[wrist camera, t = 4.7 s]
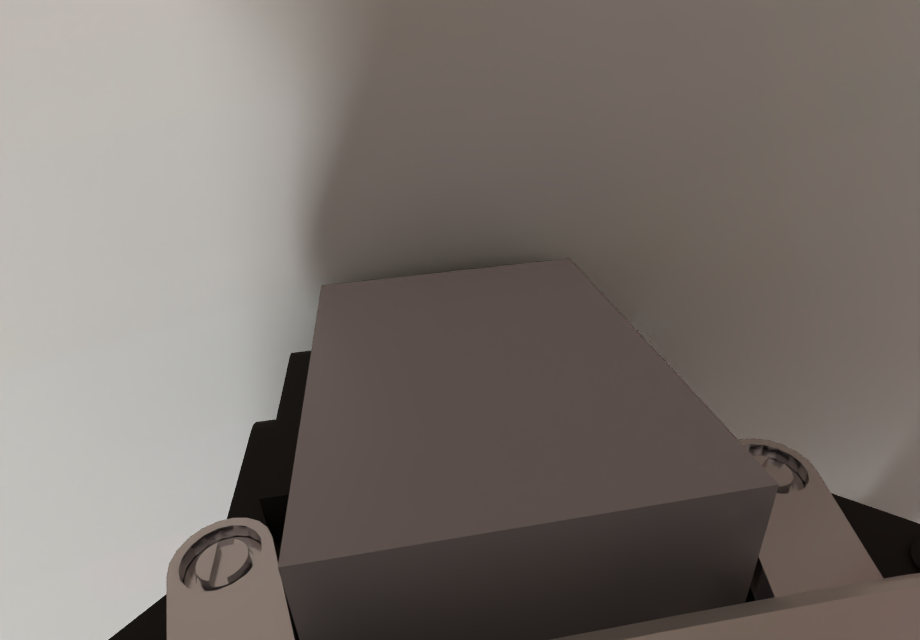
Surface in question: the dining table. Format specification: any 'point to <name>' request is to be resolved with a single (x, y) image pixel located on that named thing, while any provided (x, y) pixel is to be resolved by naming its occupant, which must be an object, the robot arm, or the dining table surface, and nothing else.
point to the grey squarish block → (506, 467)
